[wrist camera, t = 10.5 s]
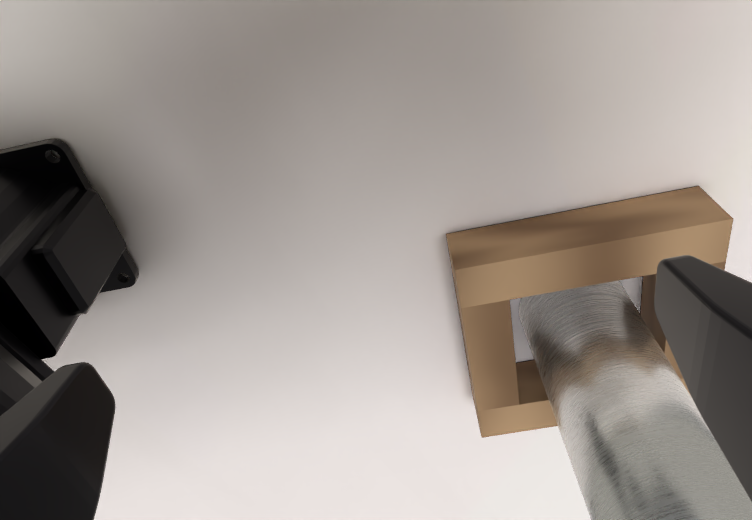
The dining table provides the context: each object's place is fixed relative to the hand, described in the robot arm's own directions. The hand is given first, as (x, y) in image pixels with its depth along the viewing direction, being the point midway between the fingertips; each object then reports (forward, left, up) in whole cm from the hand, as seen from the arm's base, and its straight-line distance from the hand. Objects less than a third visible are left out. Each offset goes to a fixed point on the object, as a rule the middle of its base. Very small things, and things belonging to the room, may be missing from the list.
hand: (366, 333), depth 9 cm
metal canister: (+7, -12, -13) cm, 19 cm away
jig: (+7, -12, -13) cm, 19 cm away
